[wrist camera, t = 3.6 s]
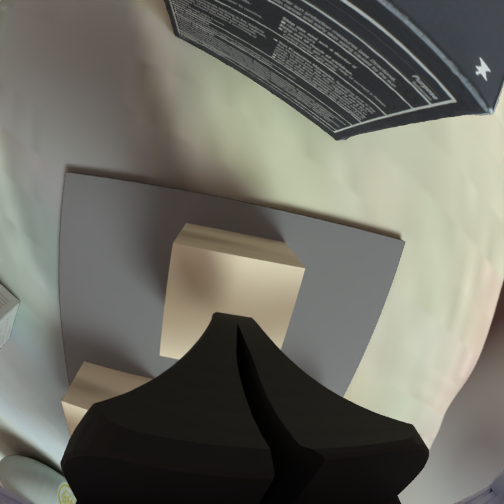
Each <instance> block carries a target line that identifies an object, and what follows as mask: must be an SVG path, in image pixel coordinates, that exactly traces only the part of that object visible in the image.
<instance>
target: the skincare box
mask: <svg viewBox="0 0 504 504" xmlns="http://www.w3.org/2000/svg"><path fill="white" fill-rule="evenodd" d="M19 303H20V302H19V300H18V299H17V298H15V297H14V296H13V295H12V294H11V293H10V292H9V291H8V290H7V289H6V288H4V287H3V286H2V285H1V284H0V348H1V347H2V346H3V345H4V344H5V343H6V342H7V341H8V340H9V338H10V336H11V331H12V327H13V323H14V320H15V316H16V313H17V310H18V307H19Z"/></svg>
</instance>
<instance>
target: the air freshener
mask: <svg viewBox="0 0 504 504" xmlns="http://www.w3.org/2000/svg"><path fill="white" fill-rule="evenodd" d="M0 481H1V483H2V485H3V487H4V488H5V489H7V490H9V491H11V492H12V493H14V494H16V495H18V496H20V497H22V498H24V499H26V500H28V501H30V502H32V503H34V504H76V498H75V496H74V494H73V492H72V491H71V489H70V487H69V485H68V483H67V481H66V479H65V477H64V476H62V475H61V474H60V473H58V472H56V471H55V470H53V469H52V468H50V467H49V466H47V465H45V464H43V463H41V462H39V461H37V460H34V459H31V458H28V457H24V456H19V455H11V456H7V457H4V458H3V459H2V460H1V461H0Z"/></svg>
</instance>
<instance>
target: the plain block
mask: <svg viewBox="0 0 504 504" xmlns="http://www.w3.org/2000/svg"><path fill="white" fill-rule="evenodd" d="M304 271H305V267H304V266H303V265H302V263H301V262H300V261H299V259H298V258H297V257H296V256H295V254H294V253H293V252H292V250H291V249H290V248H289V246H288V245H287V244H286V242H281V241H276V240H271V239H266V238H261V237H256V236H251V235H246V234H241V233H236V232H231V231H226V230H221V229H216V228H211V227H205V226H200V225H195V224H190V223H186V224H185V226H184V227H183V229H182V230H181V232H180V233H179V235H178V236H177V238H176V239H175V241H174V243H173V247H172V253H171V260H170V267H169V274H168V281H167V289H166V297H165V306H164V315H163V324H162V334H161V344H160V356H164V357H169V358H174V359H179V360H180V359H181V358H182V357H183V356H184V355H185V354H186V353H187V352H188V351H189V350H190V349H191V348H192V346H193V345H194V344H195V343H196V342H197V341H198V340H199V338H200V337H201V336H202V334H203V333H204V331H205V330H206V328H207V327H208V325H209V323H210V321H211V319H212V314H213V313H215V312H221V313H227V314H233V315H239V316H245V317H251V318H253V319H254V320H255V321H256V322H257V323H258V325H259V326H260V327H261V328H262V330H263V331H264V332H265V333H266V334H267V335H268V337H269V338H270V339H271V340H272V341H273V342H274V343H275V344H276V346H277V347H278V348H279V349H280V350H281V347H282V344H283V341H284V338H285V335H286V332H287V328H288V325H289V322H290V319H291V315H292V312H293V309H294V306H295V302H296V299H297V296H298V292H299V289H300V285H301V282H302V278H303V275H304Z"/></svg>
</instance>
